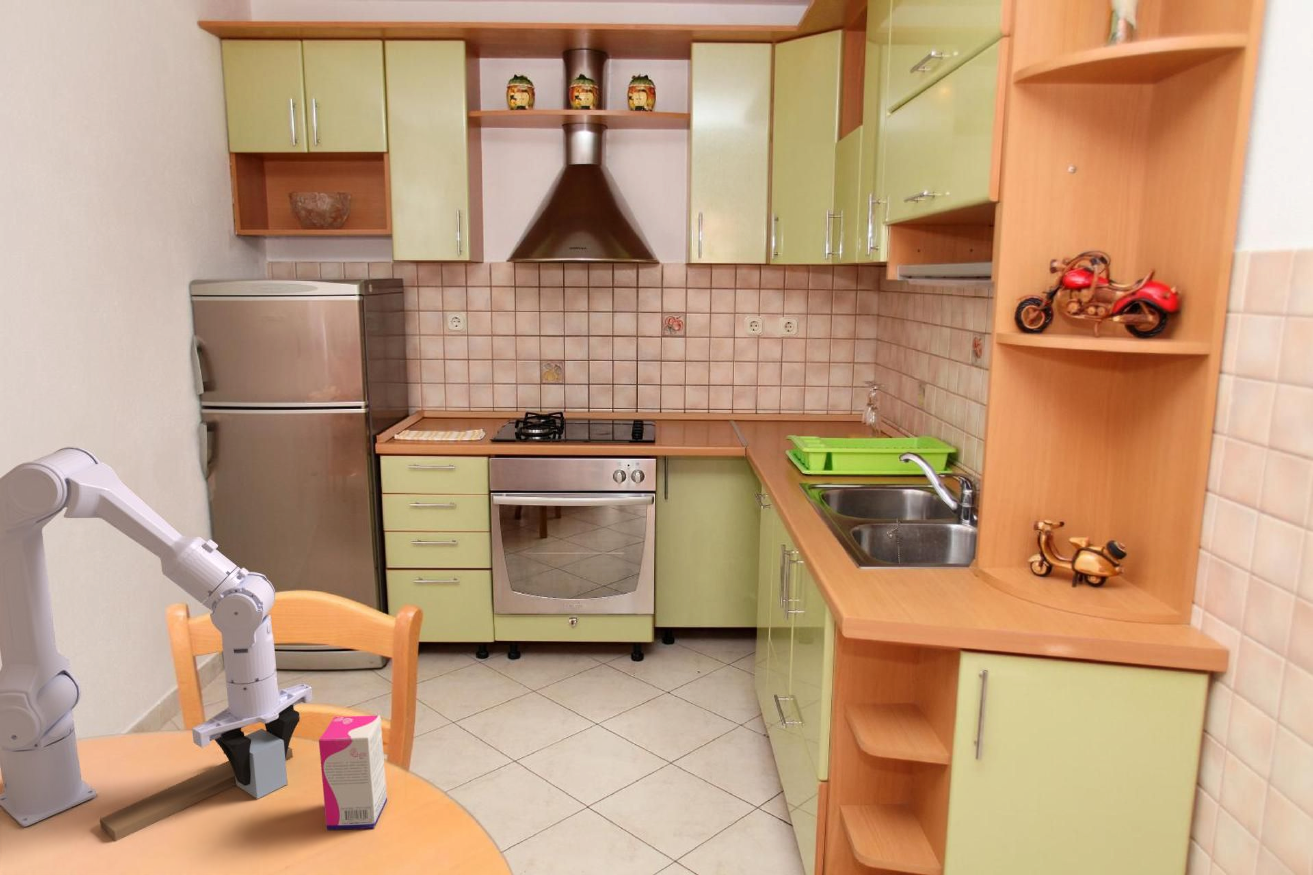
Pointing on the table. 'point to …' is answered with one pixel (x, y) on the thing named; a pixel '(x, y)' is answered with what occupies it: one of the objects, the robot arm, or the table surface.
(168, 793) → the board
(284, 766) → the grey tall block
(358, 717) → the supplement box
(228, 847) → the table surface
